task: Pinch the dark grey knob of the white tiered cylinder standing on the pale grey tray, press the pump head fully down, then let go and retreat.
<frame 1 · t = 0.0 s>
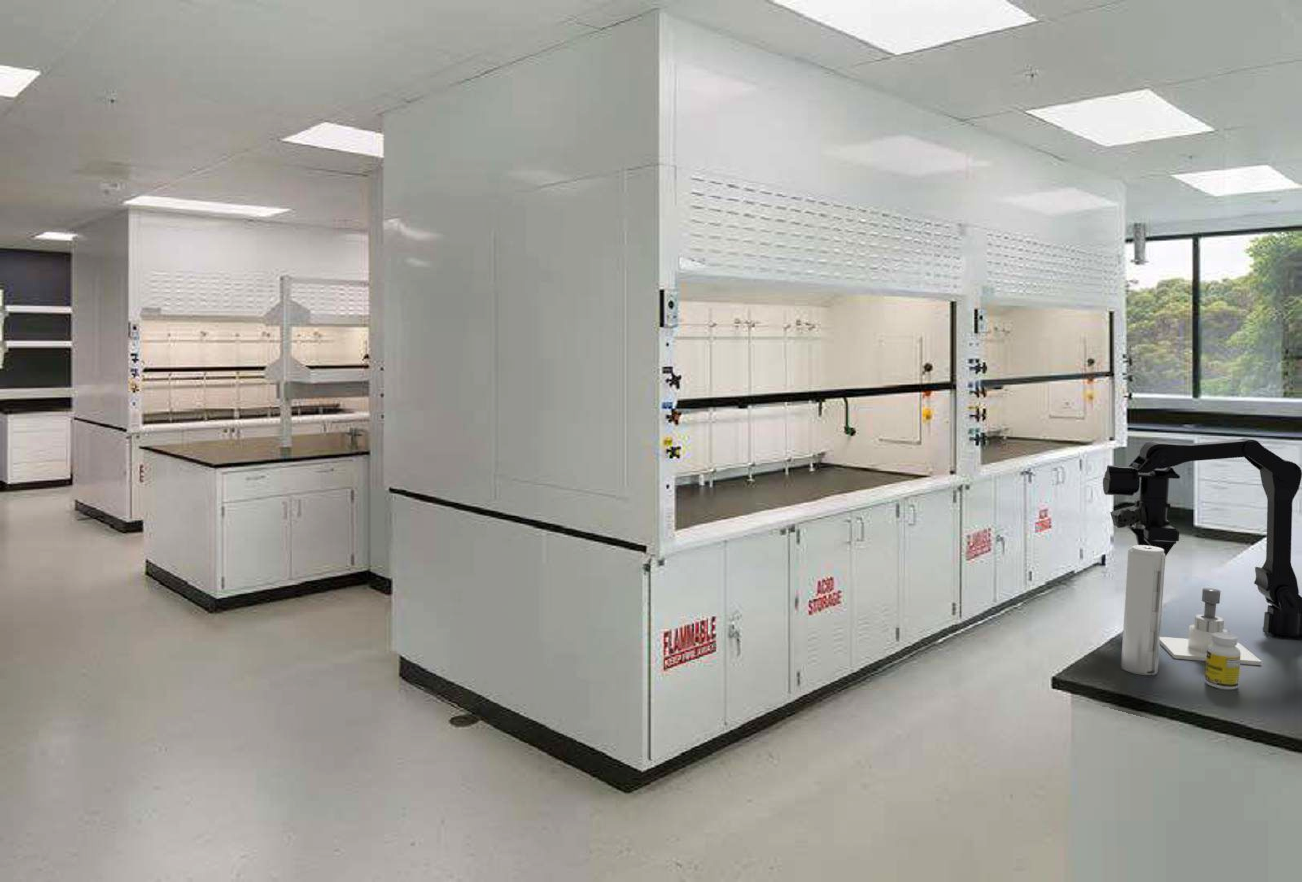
hand: (1149, 563, 206), 15 cm above the table, fingers open, 9 cm apart
white tall cylinder: (1139, 670, 179), on the table
supplement bottle: (1221, 686, 171), on the table
pump head: (1210, 603, 188), point 11 cm above the table, slide at 0.0 cm
white tiered cylinder: (1208, 633, 189), on the tray, point 4 cm above the table
tray: (1206, 652, 189), on the table
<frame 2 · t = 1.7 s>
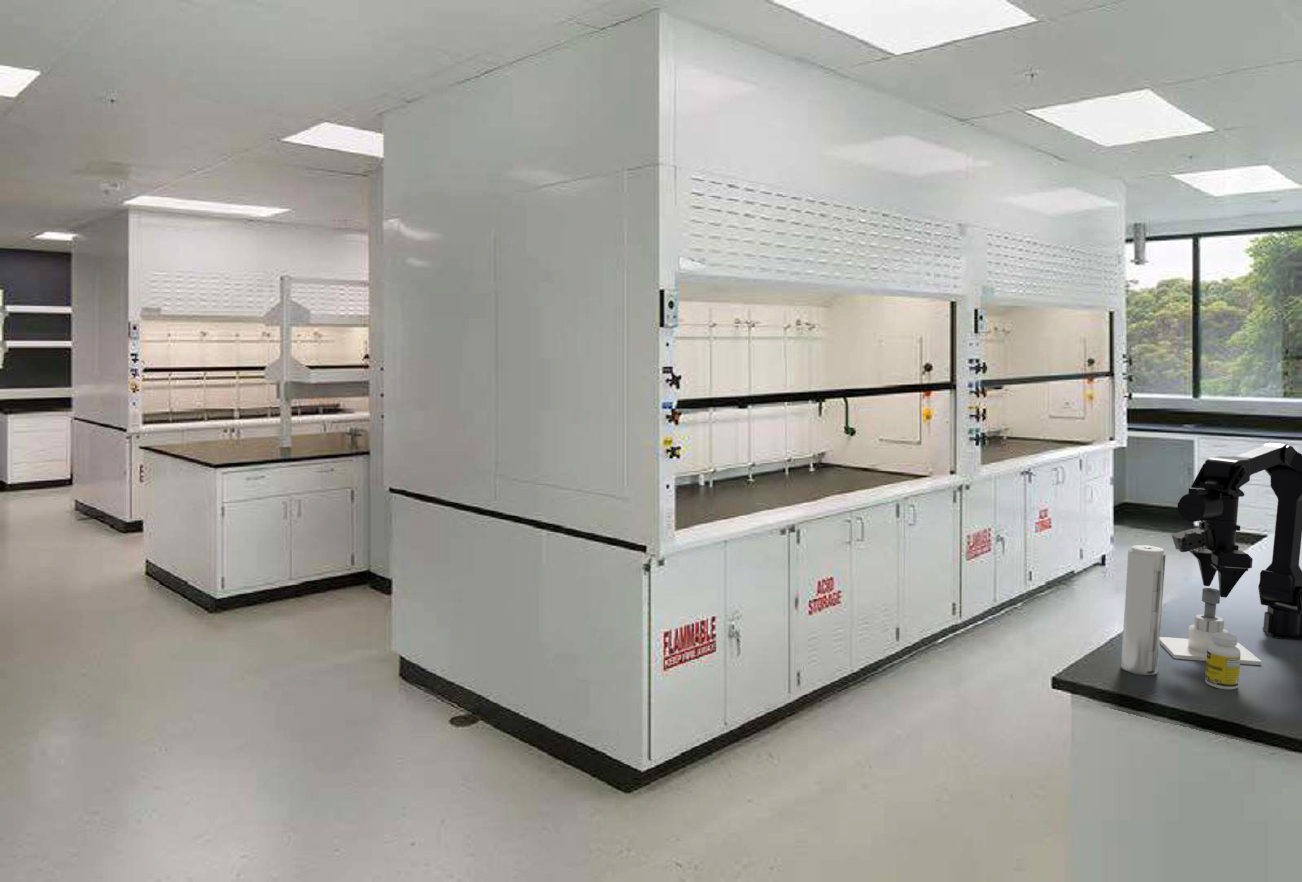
hand: (1214, 591, 188), 13 cm above the table, fingers open, 9 cm apart
nothing on the table moved.
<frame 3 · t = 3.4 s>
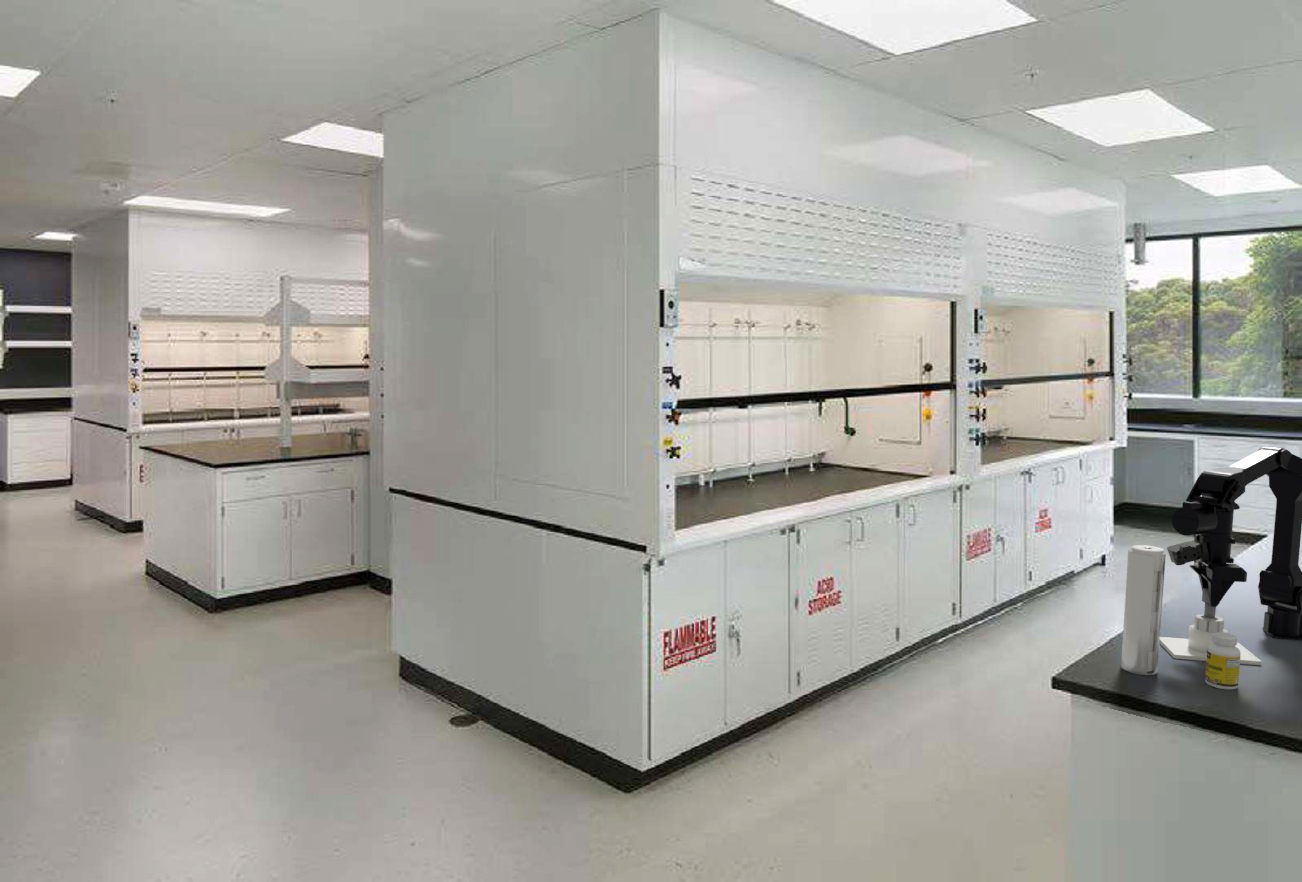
hand: (1210, 604, 188), 10 cm above the table, fingers closed on pump head, 3 cm apart
pump head: (1210, 603, 188), point 11 cm above the table, slide at 0.0 cm, touching gripper
everything else where it was.
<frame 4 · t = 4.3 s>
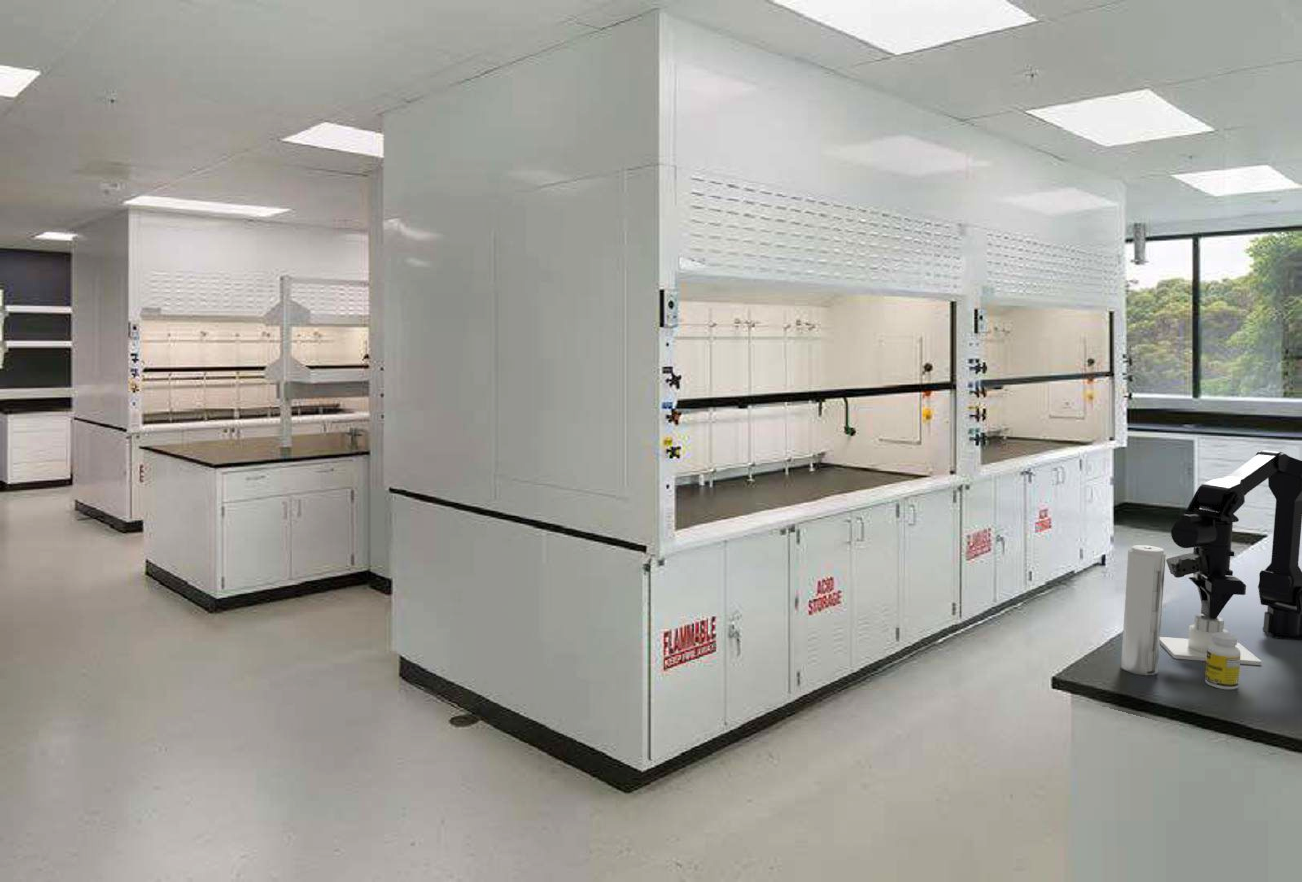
hand: (1209, 616, 189), 8 cm above the table, fingers closed on pump head, 3 cm apart
pump head: (1209, 615, 189), point 8 cm above the table, slide at 2.7 cm, touching gripper
everything else where it was.
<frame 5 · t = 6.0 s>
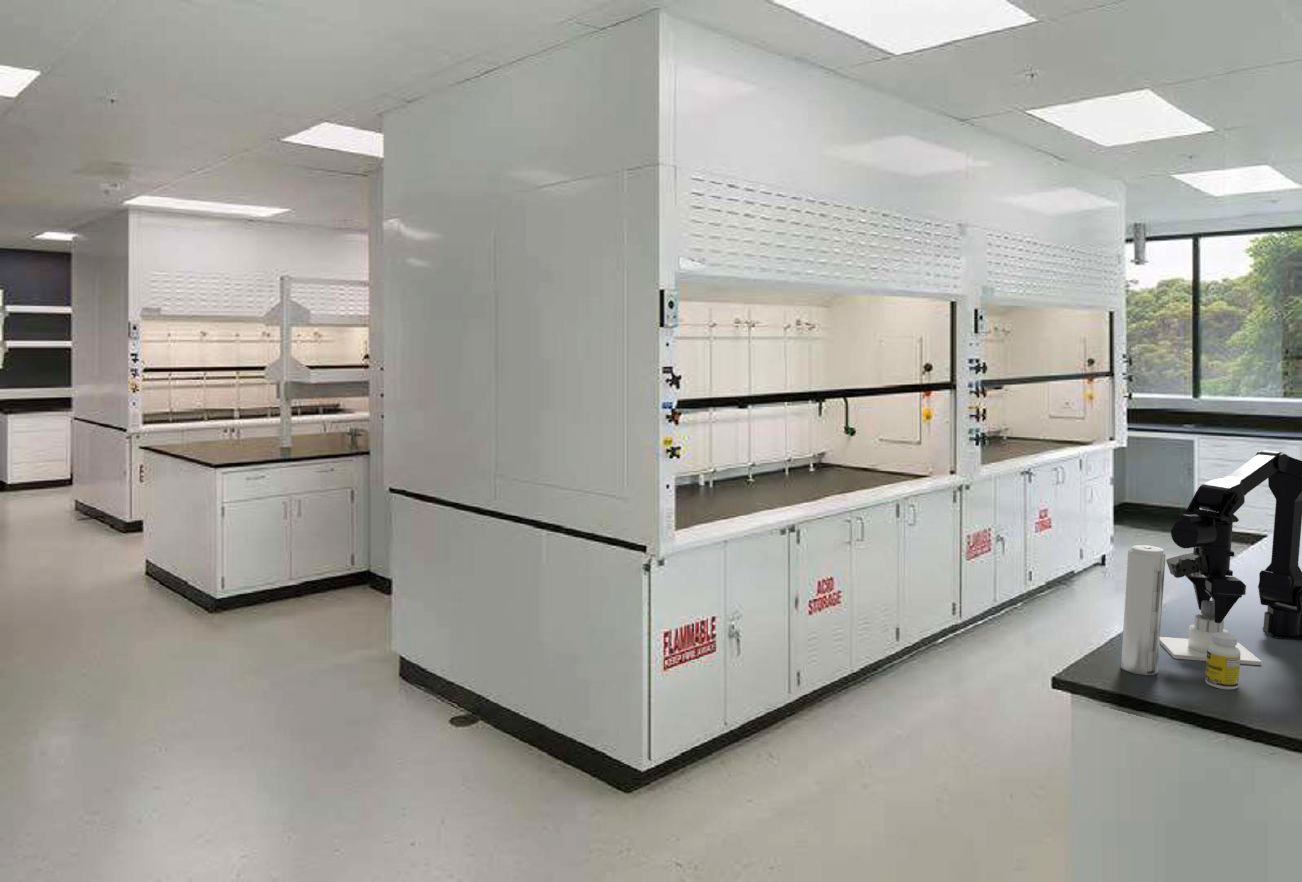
hand: (1209, 616, 189), 8 cm above the table, fingers open, 9 cm apart
pump head: (1209, 615, 189), point 8 cm above the table, slide at 2.7 cm
everything else where it was.
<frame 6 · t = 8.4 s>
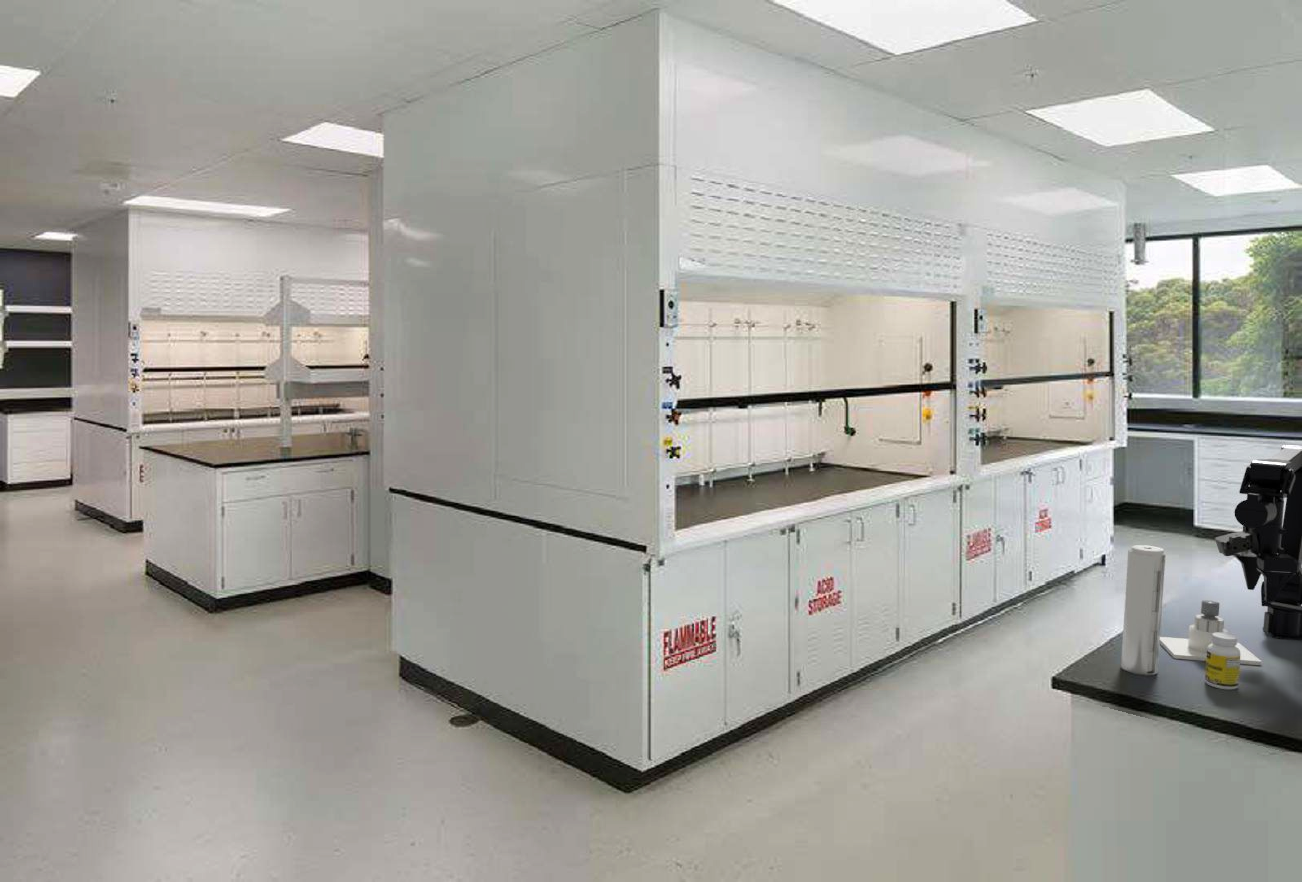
hand: (1259, 595, 186), 13 cm above the table, fingers open, 9 cm apart
nothing on the table moved.
at the end: pump head slide at 2.7 cm; the gripper is holding nothing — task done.
